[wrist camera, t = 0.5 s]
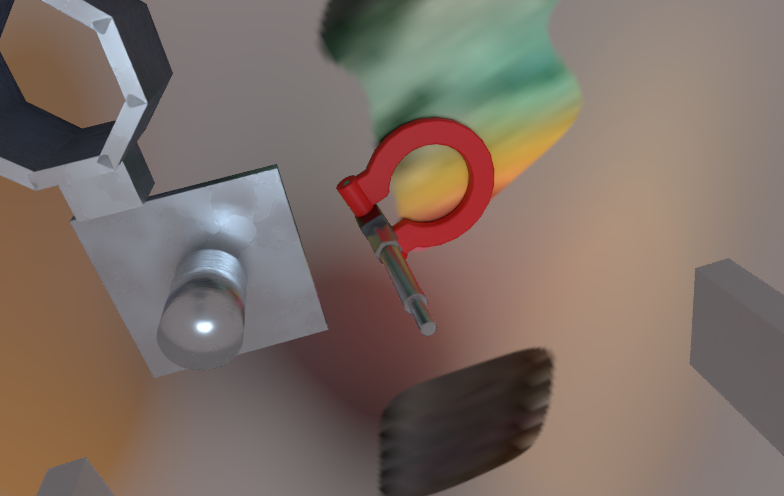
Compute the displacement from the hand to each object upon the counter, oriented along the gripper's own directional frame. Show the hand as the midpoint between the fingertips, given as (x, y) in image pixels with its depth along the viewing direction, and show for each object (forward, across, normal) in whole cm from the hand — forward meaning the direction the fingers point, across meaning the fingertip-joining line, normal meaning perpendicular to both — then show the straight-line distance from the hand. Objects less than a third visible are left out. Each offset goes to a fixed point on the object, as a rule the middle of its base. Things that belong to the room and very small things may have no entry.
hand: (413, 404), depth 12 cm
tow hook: (+24, +5, -6) cm, 25 cm away
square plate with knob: (+24, -10, -8) cm, 27 cm away
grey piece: (+24, -11, +5) cm, 27 cm away
